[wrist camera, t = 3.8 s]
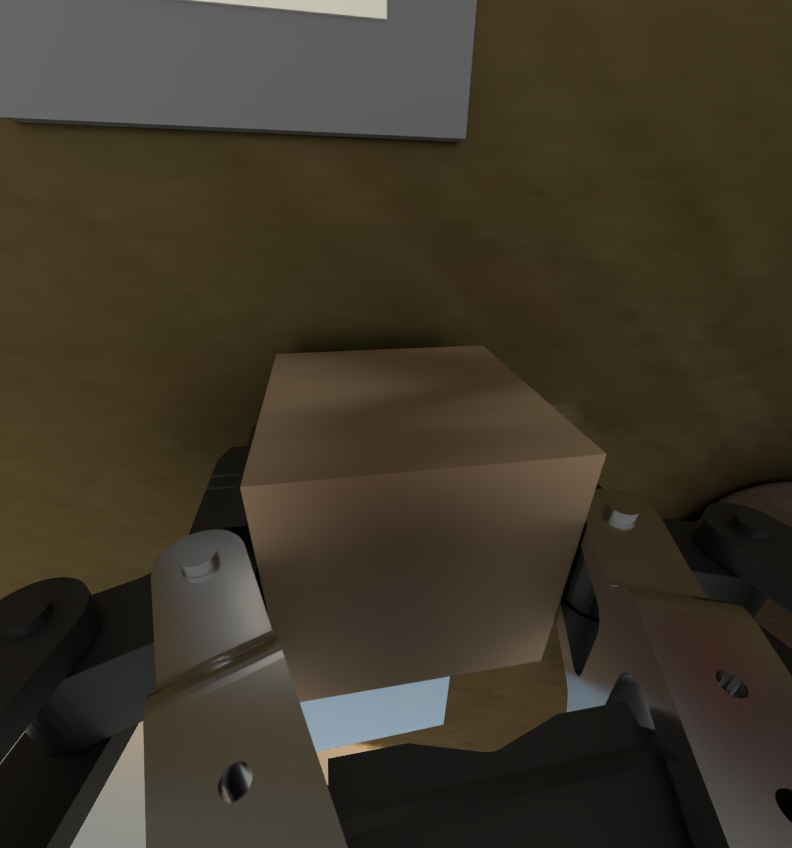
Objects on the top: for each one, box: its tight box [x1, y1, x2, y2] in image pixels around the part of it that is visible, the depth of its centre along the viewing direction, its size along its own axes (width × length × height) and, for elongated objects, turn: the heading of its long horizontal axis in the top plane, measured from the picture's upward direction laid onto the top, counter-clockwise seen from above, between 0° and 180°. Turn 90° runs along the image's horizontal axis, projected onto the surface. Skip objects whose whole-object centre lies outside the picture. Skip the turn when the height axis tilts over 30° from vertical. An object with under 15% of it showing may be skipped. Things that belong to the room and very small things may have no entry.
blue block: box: [300, 677, 450, 752], centre depth 16 cm, size 5×5×5 cm
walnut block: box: [240, 345, 607, 702], centre depth 9 cm, size 5×5×5 cm
